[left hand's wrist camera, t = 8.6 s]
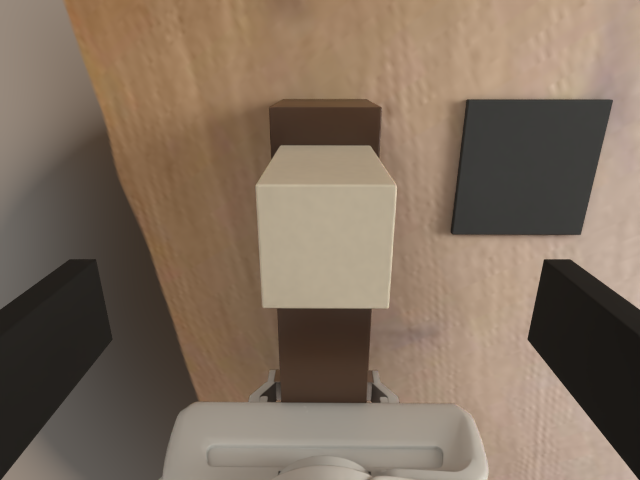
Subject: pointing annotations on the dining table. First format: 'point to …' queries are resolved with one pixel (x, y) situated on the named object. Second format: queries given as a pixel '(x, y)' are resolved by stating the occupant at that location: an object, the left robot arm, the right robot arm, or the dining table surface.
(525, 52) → the dining table surface
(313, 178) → the beige block
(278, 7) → the dining table surface
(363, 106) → the walnut box
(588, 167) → the mat
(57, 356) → the left robot arm
